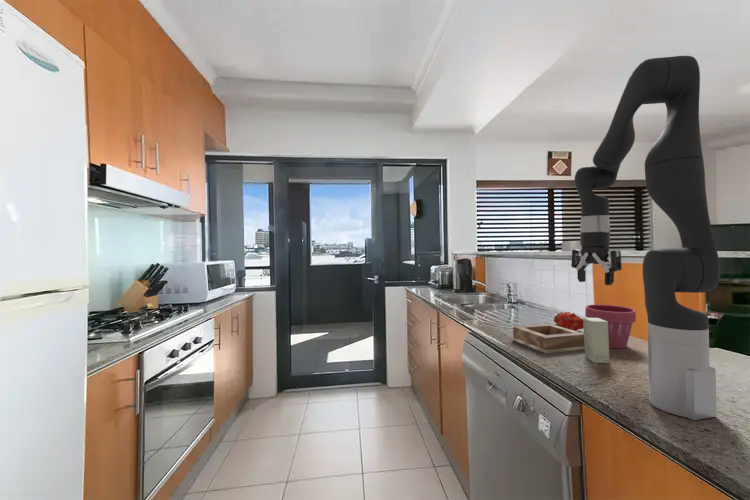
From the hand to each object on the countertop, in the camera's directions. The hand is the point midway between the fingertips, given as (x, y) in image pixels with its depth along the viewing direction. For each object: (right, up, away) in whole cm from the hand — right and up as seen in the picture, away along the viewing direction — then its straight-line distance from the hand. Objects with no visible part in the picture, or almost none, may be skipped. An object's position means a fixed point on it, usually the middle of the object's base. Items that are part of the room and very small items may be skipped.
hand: (594, 283), depth 99 cm
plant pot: (+13, -23, +12) cm, 29 cm away
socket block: (-7, -23, +13) cm, 27 cm away
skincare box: (-2, -23, -3) cm, 23 cm away
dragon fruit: (+11, -23, +31) cm, 40 cm away
